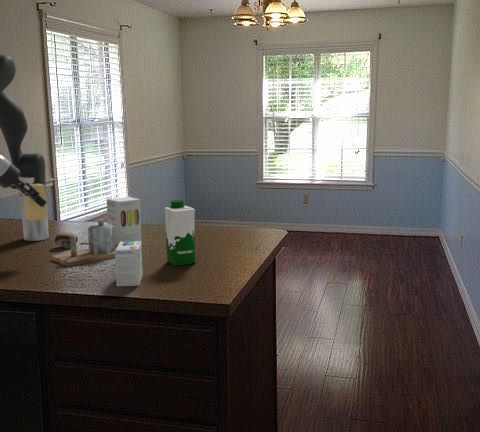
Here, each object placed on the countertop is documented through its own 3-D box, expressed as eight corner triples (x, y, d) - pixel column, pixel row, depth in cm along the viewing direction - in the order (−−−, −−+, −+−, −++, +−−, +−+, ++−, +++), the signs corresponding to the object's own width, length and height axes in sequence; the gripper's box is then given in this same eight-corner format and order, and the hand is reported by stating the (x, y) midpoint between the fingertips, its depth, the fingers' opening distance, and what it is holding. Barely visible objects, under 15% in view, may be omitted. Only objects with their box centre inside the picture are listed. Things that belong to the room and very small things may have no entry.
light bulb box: (120, 276, 170) (118, 241, 168) (143, 275, 171) (141, 240, 169) (115, 286, 160) (114, 249, 158) (140, 286, 160) (138, 248, 158)
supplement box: (119, 247, 207) (117, 201, 204) (107, 243, 214) (105, 198, 211) (142, 243, 213) (140, 198, 210) (129, 239, 220) (127, 196, 217)
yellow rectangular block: (25, 218, 186) (22, 185, 184) (40, 216, 190) (38, 183, 188) (31, 220, 183) (28, 186, 181) (46, 218, 186) (44, 185, 184)
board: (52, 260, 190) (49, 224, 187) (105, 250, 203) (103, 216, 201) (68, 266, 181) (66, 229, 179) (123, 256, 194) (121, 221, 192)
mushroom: (69, 242, 201) (67, 226, 204) (50, 249, 203) (49, 234, 206) (83, 248, 208) (81, 233, 211) (65, 255, 210) (63, 240, 213)
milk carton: (188, 257, 191) (187, 199, 187) (199, 264, 183) (197, 202, 179) (163, 261, 187) (161, 201, 183) (173, 267, 179) (171, 204, 175)
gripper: (17, 162, 173) (57, 197, 183) (0, 159, 183) (39, 192, 193) (0, 181, 170) (42, 215, 180) (-16, 177, 181) (24, 210, 191)
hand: (40, 203), depth 187 cm, fingers closed on yellow rectangular block, 5 cm apart
